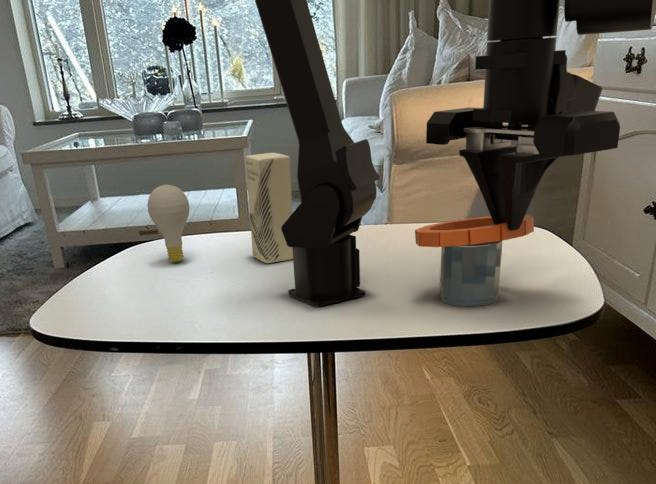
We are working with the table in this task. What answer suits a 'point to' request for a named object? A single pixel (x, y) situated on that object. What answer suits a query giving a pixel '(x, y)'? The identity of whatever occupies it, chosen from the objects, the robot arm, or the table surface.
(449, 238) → the ring
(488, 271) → the cup
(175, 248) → the light bulb
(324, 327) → the table surface
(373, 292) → the table surface
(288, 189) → the box
